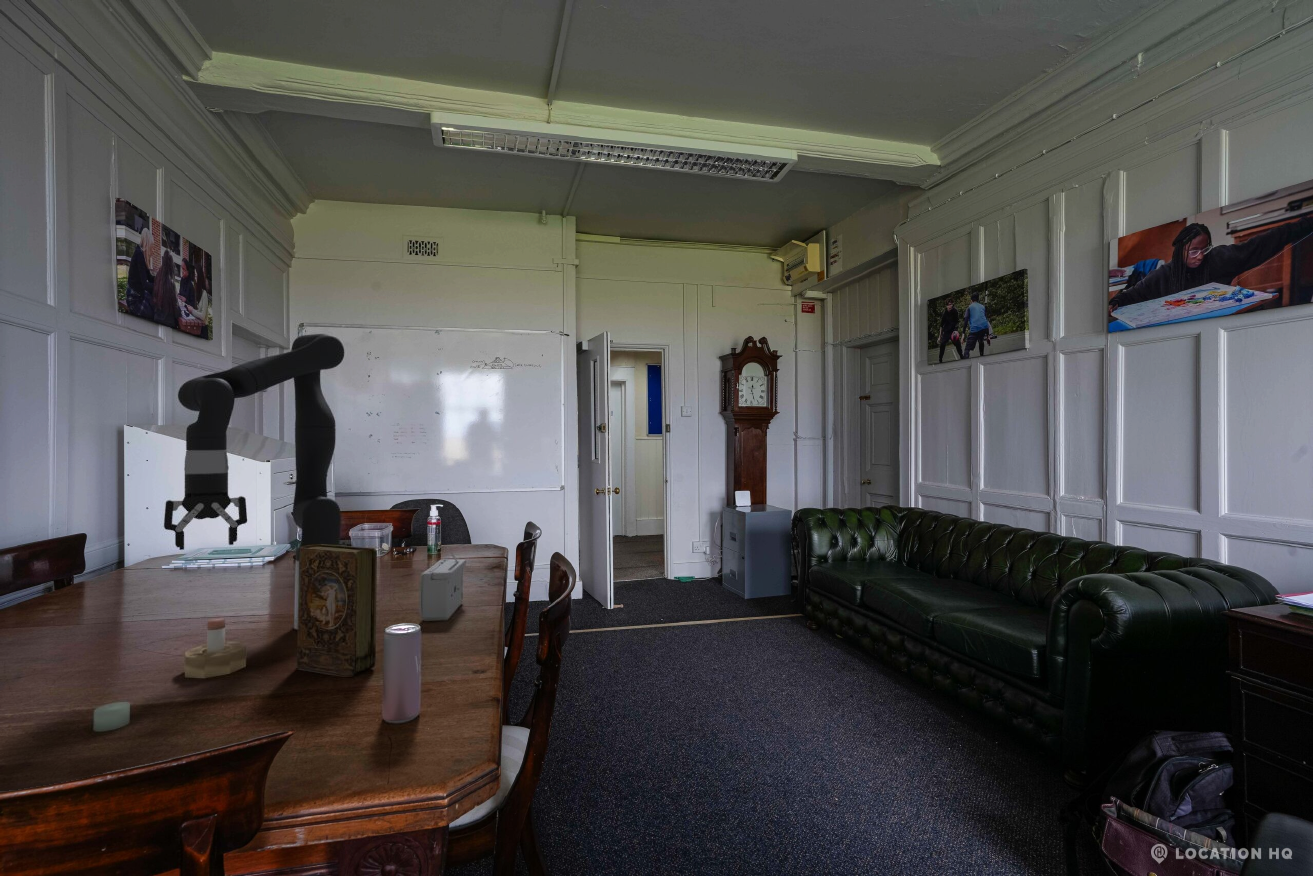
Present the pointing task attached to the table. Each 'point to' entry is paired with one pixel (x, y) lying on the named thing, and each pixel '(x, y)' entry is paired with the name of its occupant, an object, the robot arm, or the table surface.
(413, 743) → the table surface
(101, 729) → the bead
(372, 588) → the book
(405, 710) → the beverage can
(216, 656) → the bead
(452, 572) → the stereo radio cassette player
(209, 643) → the grey cylinder
